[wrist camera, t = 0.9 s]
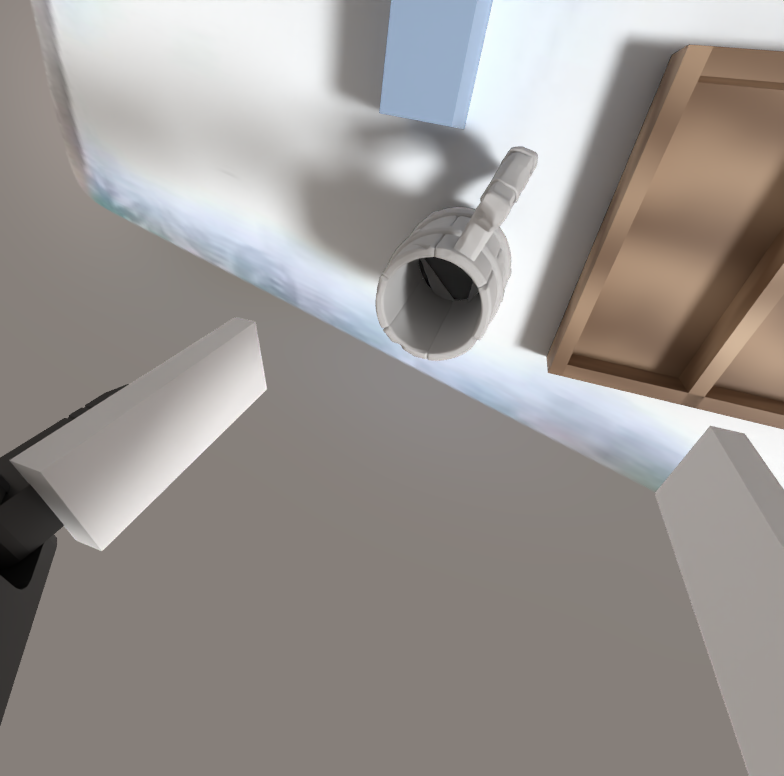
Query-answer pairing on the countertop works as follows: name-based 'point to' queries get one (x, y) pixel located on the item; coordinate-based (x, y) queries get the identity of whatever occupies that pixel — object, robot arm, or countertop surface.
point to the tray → (692, 247)
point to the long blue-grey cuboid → (433, 59)
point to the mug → (468, 251)
